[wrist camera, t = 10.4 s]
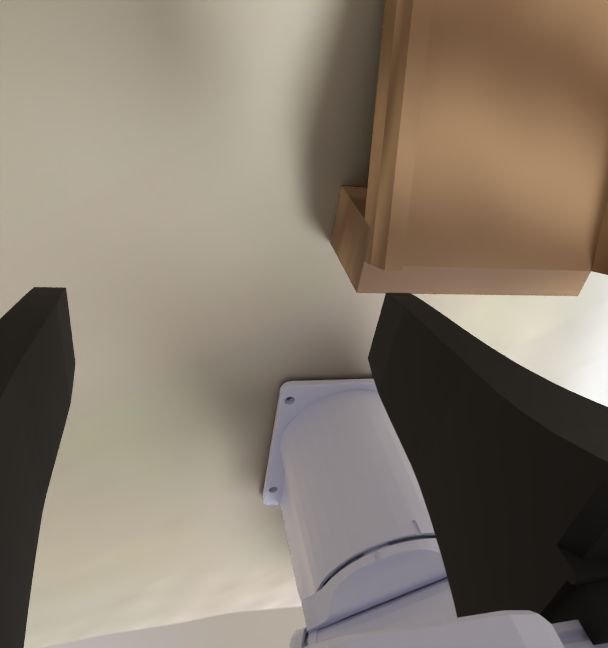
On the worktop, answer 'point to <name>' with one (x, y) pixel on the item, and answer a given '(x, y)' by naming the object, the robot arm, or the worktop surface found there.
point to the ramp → (484, 151)
